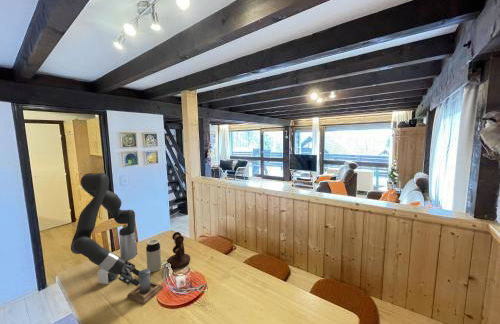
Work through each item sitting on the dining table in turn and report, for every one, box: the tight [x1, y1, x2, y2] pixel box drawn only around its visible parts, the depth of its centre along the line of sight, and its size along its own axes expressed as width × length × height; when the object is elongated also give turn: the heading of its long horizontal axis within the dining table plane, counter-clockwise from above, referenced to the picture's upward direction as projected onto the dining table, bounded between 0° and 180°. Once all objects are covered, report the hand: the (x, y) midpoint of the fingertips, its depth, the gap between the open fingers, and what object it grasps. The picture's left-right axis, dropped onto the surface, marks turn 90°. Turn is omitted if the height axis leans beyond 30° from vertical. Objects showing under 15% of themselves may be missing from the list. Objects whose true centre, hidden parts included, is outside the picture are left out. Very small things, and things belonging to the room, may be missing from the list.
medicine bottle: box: [97, 268, 120, 285], centre depth 121 cm, size 7×7×12 cm
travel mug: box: [145, 238, 162, 273], centre depth 131 cm, size 8×8×18 cm
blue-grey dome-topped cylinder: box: [138, 268, 151, 294], centre depth 110 cm, size 6×6×10 cm
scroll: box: [166, 231, 191, 269], centre depth 138 cm, size 15×15×20 cm
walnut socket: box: [126, 281, 164, 305], centre depth 111 cm, size 12×12×3 cm
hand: (139, 279), depth 109 cm, fingers open, 8 cm apart
